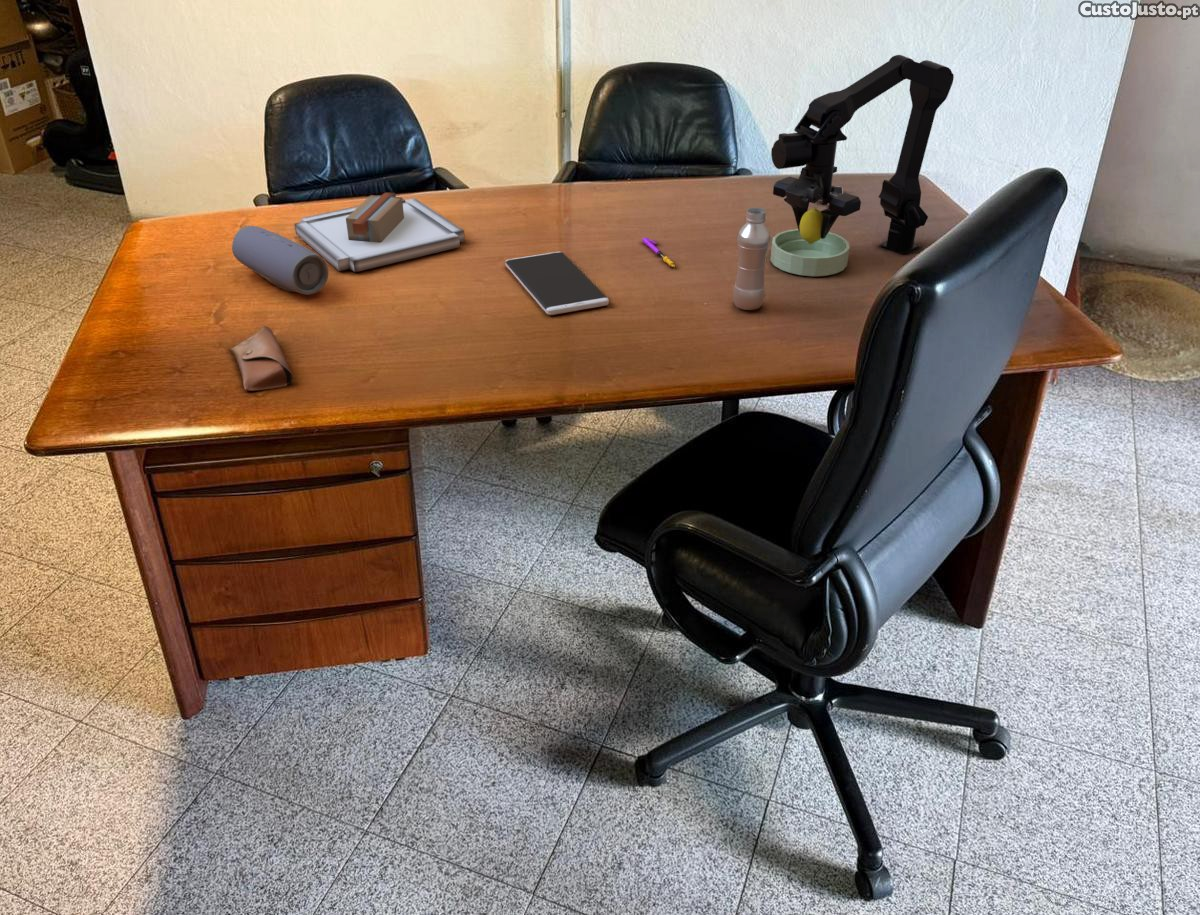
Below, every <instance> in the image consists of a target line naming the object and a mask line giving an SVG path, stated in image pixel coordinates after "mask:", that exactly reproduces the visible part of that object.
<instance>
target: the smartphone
mask: <svg viewBox="0 0 1200 915" xmlns="http://www.w3.org/2000/svg"><path fill="white" fill-rule="evenodd" d="M505 267H506V268H507V269H508V270H509V271H510V272H511V273H512V275H513V276H514V277H515V278H516V280H517V281H518V282H519V283H520V284H521V286H522V287H523V288H524V289H525V290H526V291H527V293H528V294H529V295H530V296H531V297H532V298H533V300H534V301H535V302H536V303H537V304H538V305H539V307H540V308H541V310H542V311H544V313H545V314H546V315H548V316H554V315H561V314H566V313H572V312H577V311H582V310H588V309H589V310H590V309H594V308H600V307H605V306H608V305H609V303H610V299H609V298H608V297H607V296H606V295H605V293H603V292H602V290H600V288H599V287H598V286H596V284H595V283H593V281H592V280H590V279H589V277H588V276H586V274H584V272H582V270H581V269H580V268H579V267H578V266H577V265H576V264H575V263H574V262H573V261H572V260H571V259H570V258H569V257H568V256H567V255H566V254H565V253H564V252H562V251H553V252H547V253H540V254H534V255H528V256H521V257H514V258H507V259H506V260H505Z"/></svg>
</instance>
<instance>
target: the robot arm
mask: <svg viewBox="0 0 1200 915" xmlns="http://www.w3.org/2000/svg"><path fill="white" fill-rule="evenodd" d="M954 76H955V75H954V73H953V71H952V69H951V68H949V67H948V66H946V65H943V64H940V63H937V62H934V61H931V60H928V59H925V60H921V61H920V62H917V61H915V60H914V59H912V58H910V57H907V56H905V55H902V54H894V55H893V56H891V57H890V59H889V60H888V61H887V62H884V63H883V64H882V65H880V66H878V67H877V68H876V69H873V70H872V71H870V72H869V73H868V74H866V75H865V76H862V77H861V78H860V79H858V80H856V81H855V82H854V83H852V84H850V85H849V86H847V87H845V88H843V89H841V90H837V91H832V92H827V93H825V94H822V95H821V96H817V97H816V98H814V99H813V100H812V101H811V102H810V103H809V104H808V108H807V110H806V112H805V113H804V114H803V115H802V117H801V119H800V120H799V122H798V123H797V124H796V126H795V127H794V132H792V133H791V132H790V133H785V132H784V133H783V132H782V133H779V134H778V139H777V140H775V141H774V143H773V145H772V147H771V152H770V153H771V160H772V164H773V166H774V167H775V168H776V169H777V170H783V169H784V170H785V169H791V168H798V167H801V170H800V173H799V176H798V178H796V177H793V176H787V177H785V178H784V177H783V178H782V179H779V180H777V181H776V182H775V183H774V184H773V186H772V187H773V188H772V195H773V196H777V197H779V198H783V201H784V202H785V203H787V204H788V205H789V206H790V207H791V208H792V211H793V215H794V219H795V222H796V226H797V229H798V231H800V229H799V226H800V221H801V218H802V216H803V215H804V213H806V212H807V211H809V206H810V203H811V204H816V203H817V202H819V201H820V202H823V203H822V204H826V208H825V209H822V210H820V211H821V214H822V215H823V221H822V228H821V239H824V238H825V237H826V235H827V234H828V232H830V231H831V229H832V227H833V225H834V224H835V222H836V221H837V219H839V216H841V217H847V216H850V215H851V214H854V213H856V212H858V211H859V212H860V210H861V204H862V201H861V198H860V197H859V196H857V195H854V194H850V193H847V192H843V194H841V195H838V196H833V195H830V193H831V192H833V191H834V189H835V186H836V185H832V184H833V178H834V174H836V173H837V172H838V166H835V161H836V152H837V146H838V142H842V141H847V140H848V136H846V135H845V134H844V132H843V131H842V128H843V127H844V126H846V125H847V124H848V123H849V122H850V121H851V120H852V118H853V116H854V115H855V113H856V112H857V111H858V110H859V109H860V108H862V107H863V106H865V105H867V104H868V103H870V102H872V101H873V100H875V99H876V98H878V97H879V96H881V95H882V94H884V93H886V92H887V91H889V90H890V89H892V88H893V87H895V86H896V85H898V84H899V83H901V82H902V81H904V80H905V81H906V80H908V81H910V82H909V95H910V99H911V100H910V101H911V110H910V114H909V118H908V123H907V126H906V129H905V134H904V138H903V142H902V146H901V150H900V153H899V157H898V162H897V166H896V170H895V172H894V174H893V175H892V176H891V177H890V179H884V180H883V181H882V182H881V183H882V184H881V190H880V193H879V195H878V198H879V204H880V206H881V208H882V209H883V213H884V216H885V217H888V218H889V219H890V222H889V228H888V233H887V239H886V241H884V242H881V243H880V246H879V247H881V248H883V249H887V250H890V251H892V252H897V253H899V254H903V255H906V254H909V253H910V252H913V251H915V250H916V249H918V248H920V246H921V245H920V244H919V243H916V242H915V238H916V232H917V229H919V228H920V227H924V226H925V225H926V223H927V221H928V219H929V215H927V213H926V212H925V211H924V209H923V208H922V207H921V200H922V188H921V185H920V180H919V178H920V174H921V169H922V166H923V162H924V158H925V154H926V151H927V146H928V143H929V139H930V135H931V132H932V128H933V124H934V120H935V116H936V113H937V111H938V109H939V108H940V107H941V105H942V104H943V103H944V102H945V101H946V100H947V98H948V97H949V93H950V91H951V89H952V86H953V84H954V78H955V77H954ZM812 126H813V127H815V128H817V129H818V130H816V129H814V128H813V127H812Z"/></svg>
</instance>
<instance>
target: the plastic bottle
mask: <svg viewBox="0 0 1200 915" xmlns="http://www.w3.org/2000/svg"><path fill="white" fill-rule="evenodd" d="M766 211H767V210H766V209H765V208H762V207H757V206H755V207H753V206H752V207H748V208H747V210H746V215H745V221H746V222H745V223H744V224H743V226H742V227H741V228H740V229H739V231H738V233H737V236H736V237H737V238H736V239H737V240H736V241H737V242H736V243H737V271H736V277H735V283H734V286H733V289H732V302H733V304H734V305H735V307H736V308H738V309H740V310H744V311H754V310H757V309H760V308H761V307H762V306H763V304H764V303H765V302H764V301H765V298H766V286H765V269H766V261H767V256H768V252H769V247H770V243H771V234H770V230H769V228H768V227H767V226H766V224H765V222H766V220H767V217H766V216H767V215H766V214H767V212H766Z"/></svg>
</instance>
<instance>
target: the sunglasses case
mask: <svg viewBox="0 0 1200 915" xmlns="http://www.w3.org/2000/svg"><path fill="white" fill-rule="evenodd" d="M276 337H277V336H275V334H274V332H273V330H272V328H270V327H269V326H267V325H263V326H262V327H261V329H259V331H257V332H256V333H254V334H252V335H251V336H249V337H248V338H246V339H245V340H242V341H241V342H240V343H238V344H237V345H235V346H234V347H231V348H230V352H231V353H232V354H233V356H234V357H235V360H236V363H237V365H238V368H239V371H240V374H241V378H242V382H243V383H242V384H243V389H244V391H248V392H255V391H257V392H258V391H267V390H273V389H279V388H283V387H287V386H289V385H290V384H292V381H293V379H294V378H293V373H292V371H291V369H290V366H289V364H288V361H287V359H286V357H285V354H284V352H283V350H282V348H281V346H280V343H279V341H278V339H277V338H276Z"/></svg>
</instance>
